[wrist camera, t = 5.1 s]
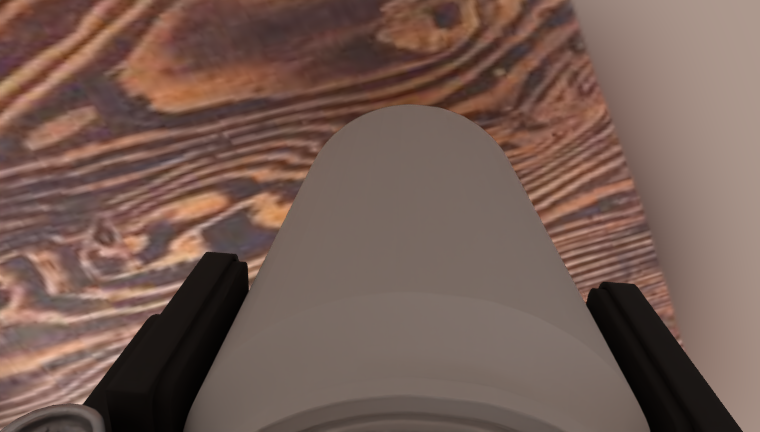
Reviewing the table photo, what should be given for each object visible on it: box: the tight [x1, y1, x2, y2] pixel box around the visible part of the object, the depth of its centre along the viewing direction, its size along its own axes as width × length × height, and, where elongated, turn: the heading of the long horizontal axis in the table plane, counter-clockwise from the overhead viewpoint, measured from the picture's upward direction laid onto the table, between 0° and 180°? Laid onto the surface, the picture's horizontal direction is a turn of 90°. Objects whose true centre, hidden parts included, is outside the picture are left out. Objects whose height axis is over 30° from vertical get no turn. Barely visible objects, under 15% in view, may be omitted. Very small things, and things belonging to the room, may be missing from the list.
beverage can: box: [183, 104, 650, 432], centre depth 12 cm, size 6×6×12 cm
